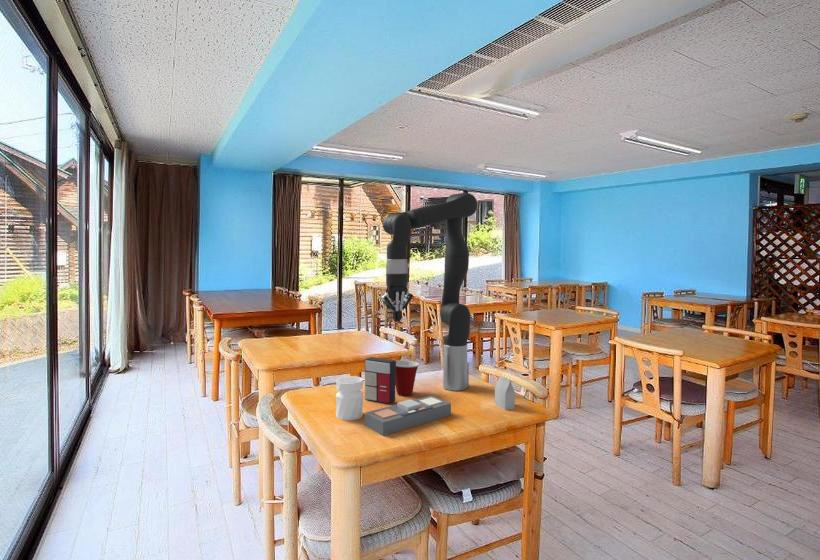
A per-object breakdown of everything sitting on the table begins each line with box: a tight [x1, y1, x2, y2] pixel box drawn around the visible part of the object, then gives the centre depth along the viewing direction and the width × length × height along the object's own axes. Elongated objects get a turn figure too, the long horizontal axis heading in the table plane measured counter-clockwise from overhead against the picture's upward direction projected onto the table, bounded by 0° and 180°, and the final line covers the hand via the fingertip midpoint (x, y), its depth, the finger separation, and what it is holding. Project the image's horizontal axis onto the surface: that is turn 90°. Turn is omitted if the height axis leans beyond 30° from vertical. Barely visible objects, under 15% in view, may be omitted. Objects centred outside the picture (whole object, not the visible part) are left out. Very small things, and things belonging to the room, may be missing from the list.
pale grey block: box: [494, 375, 516, 411], centre depth 162 cm, size 4×7×10 cm, turn 21°
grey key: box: [396, 399, 421, 412], centre depth 149 cm, size 5×5×3 cm
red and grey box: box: [364, 356, 397, 405], centre depth 168 cm, size 11×4×15 cm, turn 62°
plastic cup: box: [395, 360, 420, 397], centre depth 176 cm, size 11×11×12 cm
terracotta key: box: [374, 409, 398, 419], centre depth 144 cm, size 5×5×3 cm
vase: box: [335, 375, 364, 422], centre depth 153 cm, size 9×9×12 cm
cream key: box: [419, 397, 442, 406], centre depth 155 cm, size 5×5×3 cm
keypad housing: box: [364, 395, 452, 436], centre depth 150 cm, size 27×10×4 cm, turn 128°
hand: (397, 321), depth 164 cm, fingers closed
